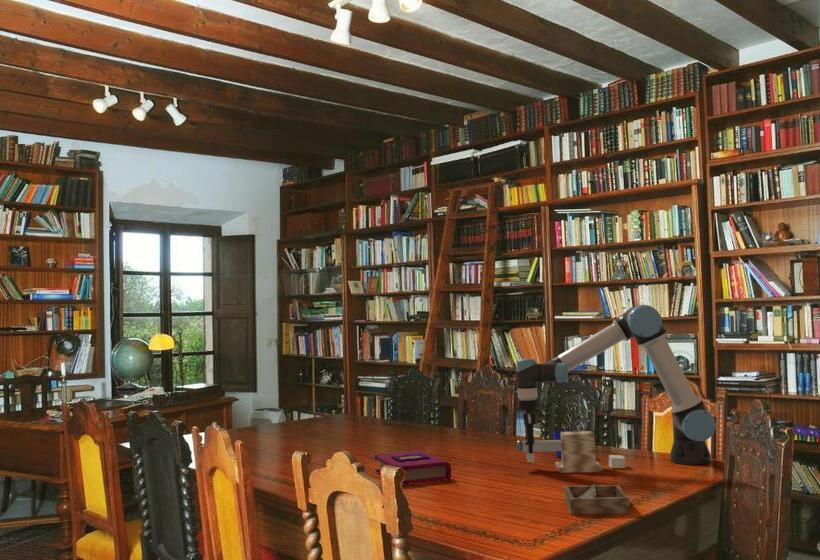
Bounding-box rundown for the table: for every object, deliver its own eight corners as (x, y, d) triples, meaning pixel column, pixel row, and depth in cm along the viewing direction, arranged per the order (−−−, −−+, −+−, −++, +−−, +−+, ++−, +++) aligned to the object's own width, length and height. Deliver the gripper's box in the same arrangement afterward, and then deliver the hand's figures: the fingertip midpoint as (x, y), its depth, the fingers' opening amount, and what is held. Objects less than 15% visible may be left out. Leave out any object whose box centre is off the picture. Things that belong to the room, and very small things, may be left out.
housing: (597, 464, 289) (595, 429, 290) (603, 471, 275) (601, 435, 276) (555, 465, 291) (554, 430, 291) (559, 472, 277) (557, 436, 277)
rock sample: (565, 488, 235) (585, 472, 231) (583, 502, 236) (603, 486, 232) (568, 510, 225) (588, 494, 222) (586, 525, 226) (607, 508, 223)
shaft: (590, 449, 285) (590, 438, 285) (592, 451, 280) (591, 440, 281) (517, 451, 288) (516, 439, 288) (517, 453, 283) (517, 441, 283)
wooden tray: (619, 499, 234) (618, 485, 234) (629, 513, 217) (629, 498, 217) (564, 500, 236) (564, 485, 236) (570, 514, 219) (570, 499, 219)
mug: (584, 458, 302) (583, 433, 302) (554, 458, 304) (552, 433, 304) (583, 454, 310) (582, 430, 310) (554, 454, 312) (553, 430, 312)
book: (423, 467, 298) (423, 448, 299) (451, 480, 272) (450, 459, 273) (374, 472, 291) (373, 453, 292) (397, 487, 265) (396, 465, 265)
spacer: (609, 454, 285) (608, 465, 285) (611, 458, 280) (611, 468, 280) (622, 455, 284) (621, 465, 284) (625, 458, 280) (625, 469, 280)
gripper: (516, 396, 295) (519, 456, 293) (518, 401, 278) (522, 465, 277) (536, 396, 294) (539, 456, 293) (539, 401, 277) (542, 464, 276)
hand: (530, 460), depth 285 cm, fingers closed on shaft, 4 cm apart
